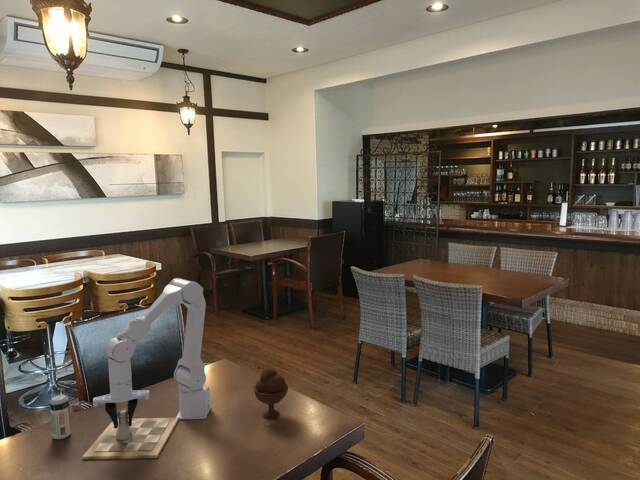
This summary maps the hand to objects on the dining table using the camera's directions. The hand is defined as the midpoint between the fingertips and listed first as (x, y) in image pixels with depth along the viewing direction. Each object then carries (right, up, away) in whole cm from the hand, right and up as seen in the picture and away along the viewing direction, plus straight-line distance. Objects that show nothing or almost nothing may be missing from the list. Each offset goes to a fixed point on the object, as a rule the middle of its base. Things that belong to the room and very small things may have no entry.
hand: (123, 425), depth 130 cm
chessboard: (+2, -5, +3) cm, 6 cm away
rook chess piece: (-1, -4, +2) cm, 4 cm away
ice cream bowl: (+41, -3, +15) cm, 44 cm away
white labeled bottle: (-20, -5, +4) cm, 21 cm away
